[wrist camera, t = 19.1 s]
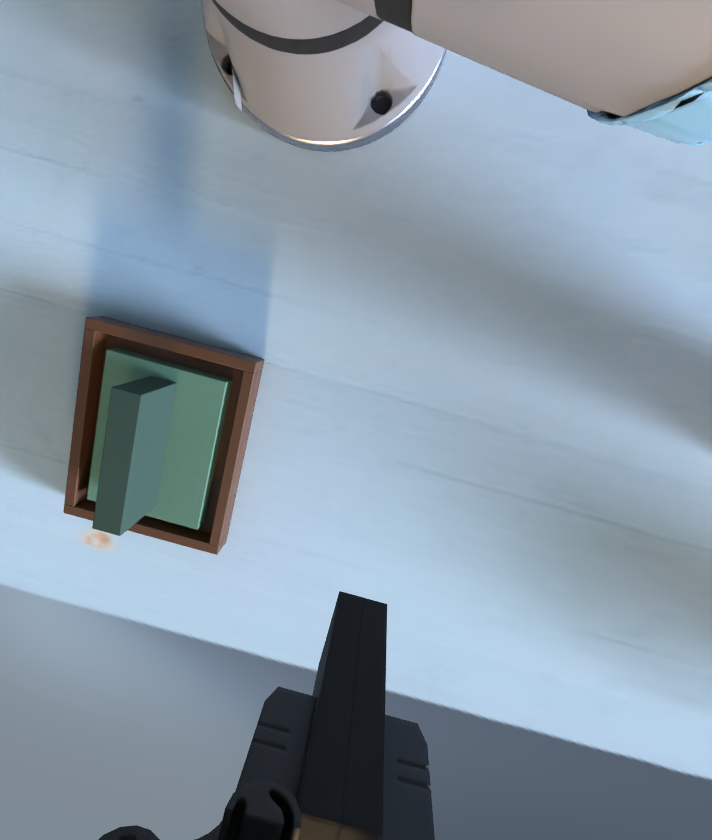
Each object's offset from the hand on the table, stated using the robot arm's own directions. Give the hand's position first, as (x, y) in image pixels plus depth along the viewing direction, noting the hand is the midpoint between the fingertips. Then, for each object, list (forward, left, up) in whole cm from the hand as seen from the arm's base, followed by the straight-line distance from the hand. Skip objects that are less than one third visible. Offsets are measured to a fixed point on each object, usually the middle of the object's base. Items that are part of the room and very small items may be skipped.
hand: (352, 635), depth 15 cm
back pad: (+4, -16, -22) cm, 27 cm away
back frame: (+4, -16, -22) cm, 28 cm away
